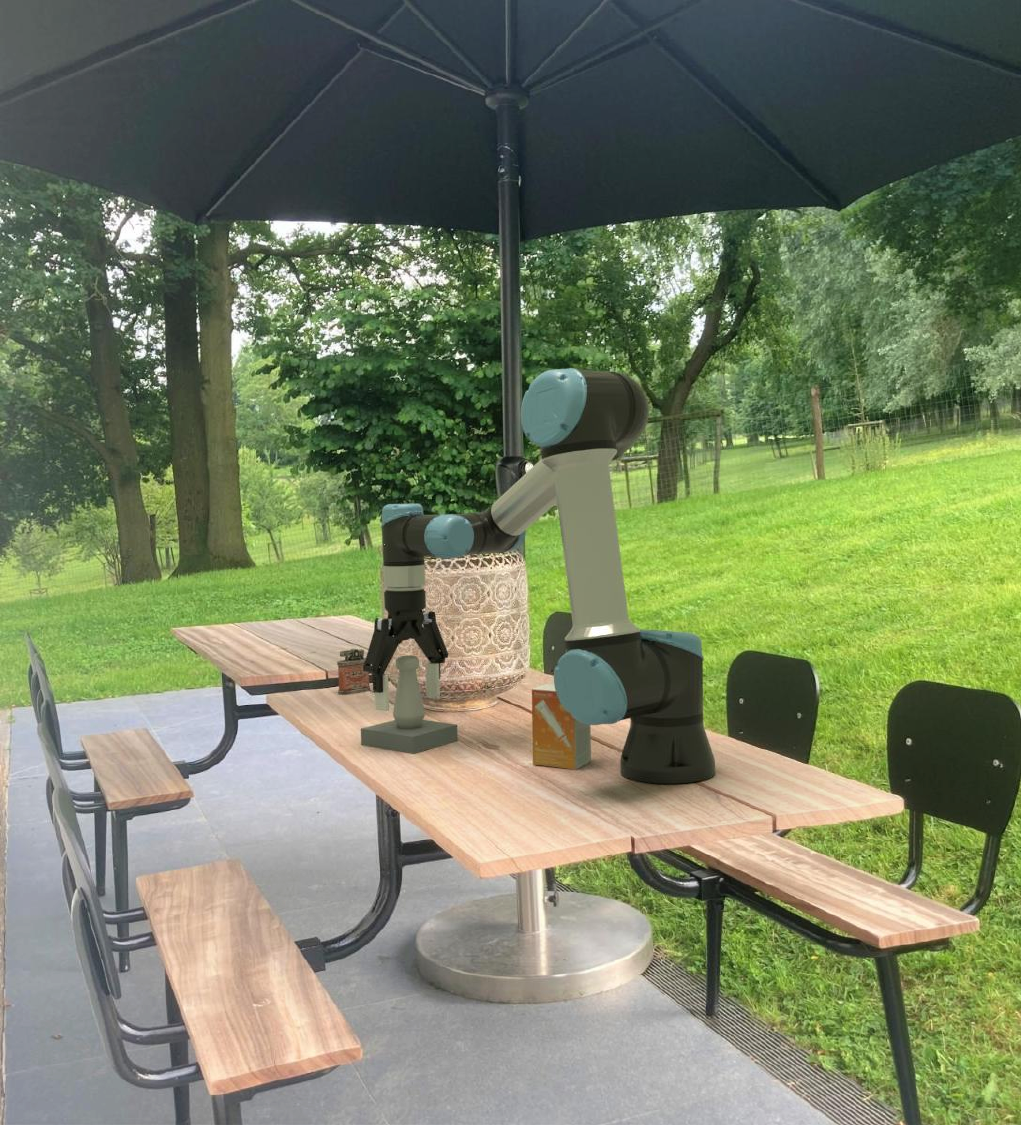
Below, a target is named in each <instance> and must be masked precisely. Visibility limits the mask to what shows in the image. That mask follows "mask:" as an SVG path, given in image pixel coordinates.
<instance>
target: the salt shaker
mask: <svg viewBox="0 0 1021 1125" xmlns="http://www.w3.org/2000/svg"><path fill="white" fill-rule="evenodd" d="M395 668H396V670H399V671H398V676H397V677H398V678H397V683H396V691H395V698H394V704H393V709H392V711H393V712H392V715H393V716H392V717H393V719H394V720H395V721H396V723H397V726H398V727H399V728H401V729H413V728H418V727H420V725H421V723H422V720H424V718H425V717H426V716H425V715H426V712H425V708H424V703H423V698H422V693H421V689H420V685H419V680H418V675H417V670H418V669H419V668H420V660H419V658H418V657H417V656H415V655H402V656H401V655H400V656H399V657H397V658H396V659H395Z"/></svg>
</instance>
